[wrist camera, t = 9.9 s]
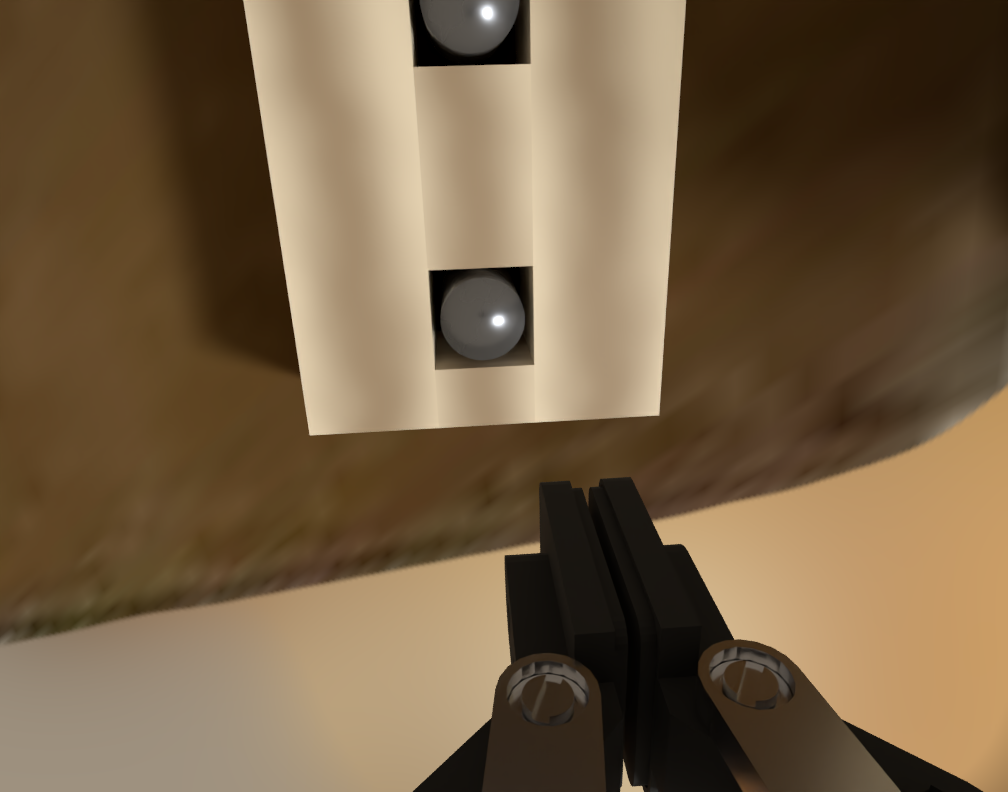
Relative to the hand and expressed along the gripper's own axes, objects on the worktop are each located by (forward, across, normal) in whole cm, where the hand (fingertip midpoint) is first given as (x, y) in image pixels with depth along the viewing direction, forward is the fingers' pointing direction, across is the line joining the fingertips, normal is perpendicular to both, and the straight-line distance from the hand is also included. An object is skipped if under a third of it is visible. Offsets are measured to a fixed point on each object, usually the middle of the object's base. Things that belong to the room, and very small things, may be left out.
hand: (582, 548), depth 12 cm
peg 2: (+23, +1, 0) cm, 23 cm away
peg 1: (+23, +1, -11) cm, 26 cm away
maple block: (+24, +1, -6) cm, 24 cm away
